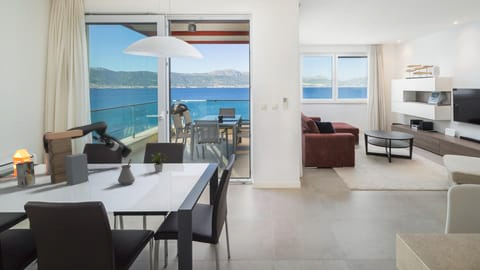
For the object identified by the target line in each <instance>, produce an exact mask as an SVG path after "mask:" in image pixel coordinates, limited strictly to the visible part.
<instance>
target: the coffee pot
mask: <svg viewBox="0 0 480 270" xmlns="http://www.w3.org/2000/svg"><path fill="white" fill-rule="evenodd" d="M131 162H132V158H130V159H129V160H128V164H125V165H124V164H122V165H121V166H120V167H121V170H120V174H119V176H118V178H117V182H118V183H119V184H120V185H121V186H130V185H132V184H133V183H134V182H135V180H136V179H135V177H134V174H133V172H132V170H131V165H130V164H131Z"/></svg>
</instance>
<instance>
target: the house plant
mask: <svg viewBox="0 0 480 270" xmlns="http://www.w3.org/2000/svg"><path fill="white" fill-rule="evenodd" d="M156 154H157V155H156ZM156 154H155V153H153V154H150V156H152V160H151V162H155V163H154V164H153V167H154V170H155V171H154V172H155V173H162V172H163V169H164V168H163V166H164V163H162V162H163V161H167V159H166V158H167V156H164V154H163V152H157V153H156ZM162 154H163V155H162Z"/></svg>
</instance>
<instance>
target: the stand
mask: <svg viewBox="0 0 480 270" xmlns="http://www.w3.org/2000/svg"><path fill="white" fill-rule="evenodd" d="M48 150H49V163H50V175H49V176H50V183H51V184H54V185H57V184H61V183H67V174H66V160H65V156H68V155H73V143H72V139H71V137H64V138H56V139H48Z"/></svg>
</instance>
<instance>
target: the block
mask: <svg viewBox="0 0 480 270" xmlns="http://www.w3.org/2000/svg"><path fill="white" fill-rule="evenodd" d="M44 134H45V138H46V139H56V138H64V137H73V136H81V135H83V132H82V130H72V131H66V130H65V131H56V132H53V133H47V132H45V133H44Z"/></svg>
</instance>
